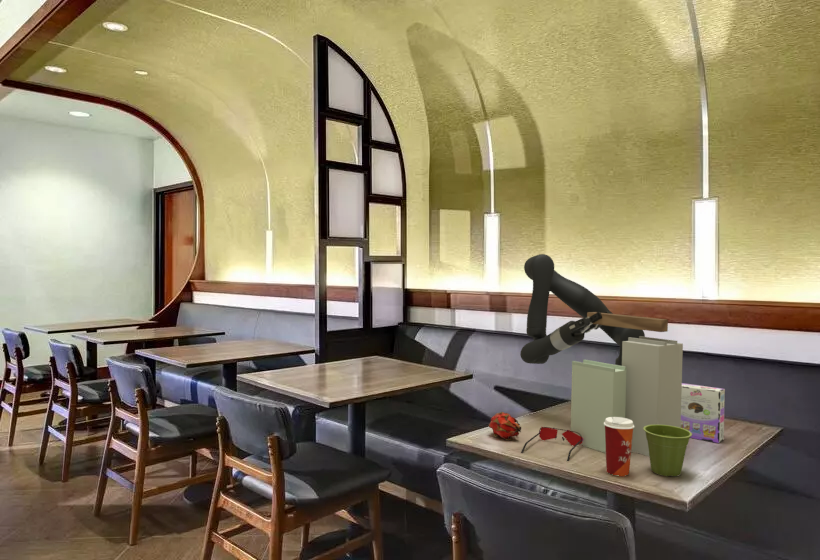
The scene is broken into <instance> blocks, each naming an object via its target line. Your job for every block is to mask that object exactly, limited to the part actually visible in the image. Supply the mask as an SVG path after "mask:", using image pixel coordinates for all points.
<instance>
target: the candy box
mask: <svg viewBox="0 0 820 560" xmlns="http://www.w3.org/2000/svg"><path fill="white" fill-rule="evenodd" d="M725 392H726V389H725V388H720V387H715V386H714V387H713V386H712V387H711V386H706V385H705V386H704V385H699V384H693V383H692V384H690V383H683V382H682V394H681V428H683V429H686V430H688V431H690V432H691V433H692V436H691V437H690V438H689V439H695V440H700V441H706V442H710V443H717V444H720V443H721V442H722V440H723V441H724V439H725V402H726V401H725V397H726V396H725V395H726V393H725Z"/></svg>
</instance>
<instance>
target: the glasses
mask: <svg viewBox="0 0 820 560" xmlns="http://www.w3.org/2000/svg"><path fill="white" fill-rule="evenodd" d="M558 430H560V431H564V432H562V433H561V435H562V437H561V438H562V441H563V442H565V440H566V441H567V443H569V444H570V446H572V445H573V447H572V448H571V449H570V450H569V451H568V454H567V459H566V462H567V461H570V458H571V454H572V451H573V450H575V449H576V447H577V446H578V445H579V444H581V443H582V441H583V438H582V437H581V435H580V434H579V433H578V432H576V433H578V434H579V435H580V436H579V435H577V434H575V433H573V432H575V431H571V429H562V428H561V429H560V428H555V427H549V426H541V427H540V428H539V431H538V433H537V434H535V435H534V436H533V437H531V438H530V439H528V440H527V441H526V442H525V443H524V444H523V446H522V449H521V452H520V454H523V453H524V452H525V449H526V447H527V444H528V443H530V442H531V441H533V440H534V439H535V438H536V437H539V438H540V440H541V441H542V440H544V441H548V440H553V439H557V437H558Z"/></svg>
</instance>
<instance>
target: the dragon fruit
mask: <svg viewBox="0 0 820 560" xmlns="http://www.w3.org/2000/svg"><path fill="white" fill-rule="evenodd" d="M488 428H490V429H491V430H492V433H493V436H494V437H500V438H502V439H504V440H505V441H512V440H513V439H512V438H511V437H516V438H517V437H519V435H520V433H522V431H521V430H522V426H521V424H520V423H519V421H518V420H517V418H515V417H513V416H512V415H511V414H510V413H508V412H503V411H500V412H496V413H495V414H494V415H493V416H492V417H491V418H490V421H489V424H488Z"/></svg>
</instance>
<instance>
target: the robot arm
mask: <svg viewBox="0 0 820 560" xmlns="http://www.w3.org/2000/svg"><path fill="white" fill-rule="evenodd" d="M523 269H524V274H525V275H526V276H527V277H528V278H529V279H530V280H532V291H531V292H532V293H531V298H530V302H529V306H528V309H527V316H526V335H527V337H530V338H532V339H533V340H532V341H530V342H527V343H525V344H524V345H523V346H522V348H521V349H520V358H521V360H522V361H523V362H525V363H526V364H530V365H531V364H533V365H534V364H535V365H543V364H544V365H545V364H546V362H548V360H549V358H550V356H553V355H557V354H558V353H560V352H562V351H564V350H567V349H569V348H571V347H573V346H575V345H576V344H578V343H580V342H582V341H583V340H584V339H585V334H587V333H589V332H591V331H592V330H598V329H599V328H600V330H601V331H603V332H604V333H605V334H606V335H607V336H608V337H609V338H610V339H612V340H613V342H614V343H615V344H617V345H618V346H619V354H618V356H617V357H616V358H615V361H614V362H615V364H614V365H619V366H622V341H628V338H629V337H631V338H639V336H642V337H646V334H645V332H644V331H645V330H639V329H631V328H622V327H614V326H606V325H598V324H593V323H594V322H596V321H598V320H600V319H602V315H601V313H608V314H614V313H613V312H612V311H610V310H609V308H608V307H607V305H605V304H604V303H605V302H604V301H602V300H601V299H600V298H599V297H598V296H597V294H594V293H593V292H592V291H591V290H589V289H588V288H586V287H585V286H583V285H582V284H580V283H578V282H575V281H573V280H571V279H569V278H567V277H565V276H563V275H562V274H560V273H558V271H556V270H555V262H554V260H553V258H552V257H551V256H549V255H548V254H545V253H541V254H540V253H539V254H537V255H533V256H531V257H529V258H528V259H526V261H525V262H524V265H523ZM550 292H551V293H552V294H553V295H554V296H555V297H556V298H558V299H559V300H560V301H561V302H563V304H565V305H566V306H567V307H569V308H570V309H571V310H573V311H574V313H577V315H579V316H580V317H582V318H579V319H577V320H570V321H568V322H566V323H565V324H562V325H560V326H559V327H557V328H556V329H555V330H553V331H552V332H550V333H549V334H547V326H548V325H547V324H548V322H547V321H548V306H549V297H550ZM587 312H597V313H596V314H594V315H592V316H588V317H587Z"/></svg>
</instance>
